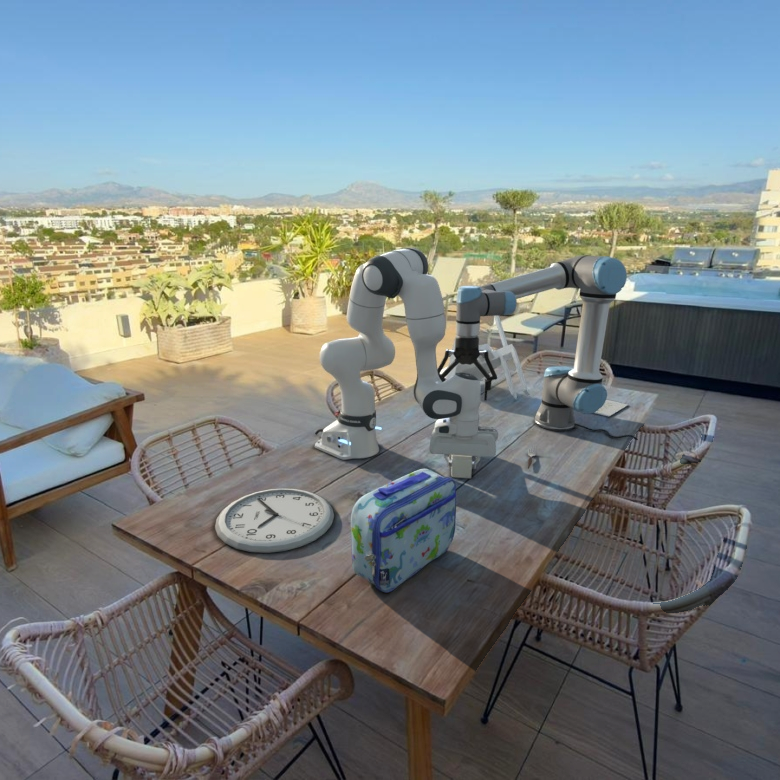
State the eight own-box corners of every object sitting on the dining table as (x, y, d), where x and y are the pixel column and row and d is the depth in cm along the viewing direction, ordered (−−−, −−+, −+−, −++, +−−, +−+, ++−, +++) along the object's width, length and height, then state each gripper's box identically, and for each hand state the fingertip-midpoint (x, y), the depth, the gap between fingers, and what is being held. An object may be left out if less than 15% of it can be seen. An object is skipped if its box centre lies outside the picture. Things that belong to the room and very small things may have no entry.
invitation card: (608, 416, 214) (573, 407, 224) (608, 416, 214) (573, 408, 224) (628, 404, 229) (594, 396, 238) (628, 405, 229) (594, 397, 238)
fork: (523, 469, 166) (524, 463, 165) (529, 450, 180) (529, 445, 179) (532, 470, 165) (532, 464, 164) (536, 451, 179) (537, 446, 179)
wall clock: (332, 544, 122) (200, 548, 120) (332, 550, 123) (201, 555, 120) (334, 484, 151) (228, 486, 148) (334, 489, 151) (228, 491, 149)
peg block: (468, 447, 182) (469, 431, 180) (471, 478, 160) (472, 460, 158) (451, 446, 183) (452, 430, 181) (451, 477, 160) (452, 459, 158)
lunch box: (379, 605, 105) (380, 513, 99) (344, 580, 112) (343, 493, 106) (459, 552, 123) (464, 471, 116) (425, 533, 130) (428, 456, 124)
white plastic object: (461, 429, 252) (437, 405, 227) (444, 352, 274) (420, 323, 250) (535, 404, 240) (518, 377, 215) (510, 326, 262) (492, 293, 237)
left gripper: (498, 423, 160) (494, 465, 164) (431, 420, 162) (429, 460, 166) (499, 431, 154) (496, 474, 158) (430, 427, 156) (428, 469, 160)
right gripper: (506, 334, 169) (501, 396, 175) (428, 332, 172) (427, 393, 178) (508, 339, 162) (503, 403, 168) (427, 337, 165) (426, 400, 171)
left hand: (461, 467), depth 162 cm, fingers closed on peg block, 6 cm apart
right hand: (464, 398), depth 173 cm, fingers open, 13 cm apart
